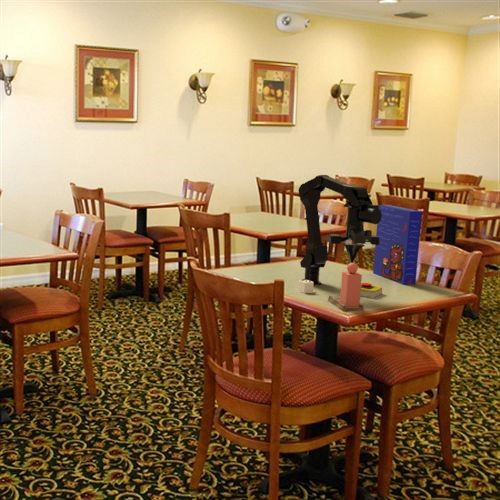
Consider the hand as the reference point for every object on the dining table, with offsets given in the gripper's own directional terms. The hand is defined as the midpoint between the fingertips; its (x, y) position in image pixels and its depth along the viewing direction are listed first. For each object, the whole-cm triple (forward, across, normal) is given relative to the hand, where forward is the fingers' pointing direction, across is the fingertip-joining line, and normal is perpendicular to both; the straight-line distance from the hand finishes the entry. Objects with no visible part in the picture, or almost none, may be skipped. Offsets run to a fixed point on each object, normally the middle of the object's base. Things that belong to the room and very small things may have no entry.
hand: (351, 262), depth 247 cm
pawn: (+11, -6, -20) cm, 24 cm away
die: (+12, -16, +3) cm, 20 cm away
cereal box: (+12, +28, +28) cm, 41 cm away
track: (+12, -7, -17) cm, 22 cm away
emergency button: (+13, +6, +1) cm, 14 cm away
